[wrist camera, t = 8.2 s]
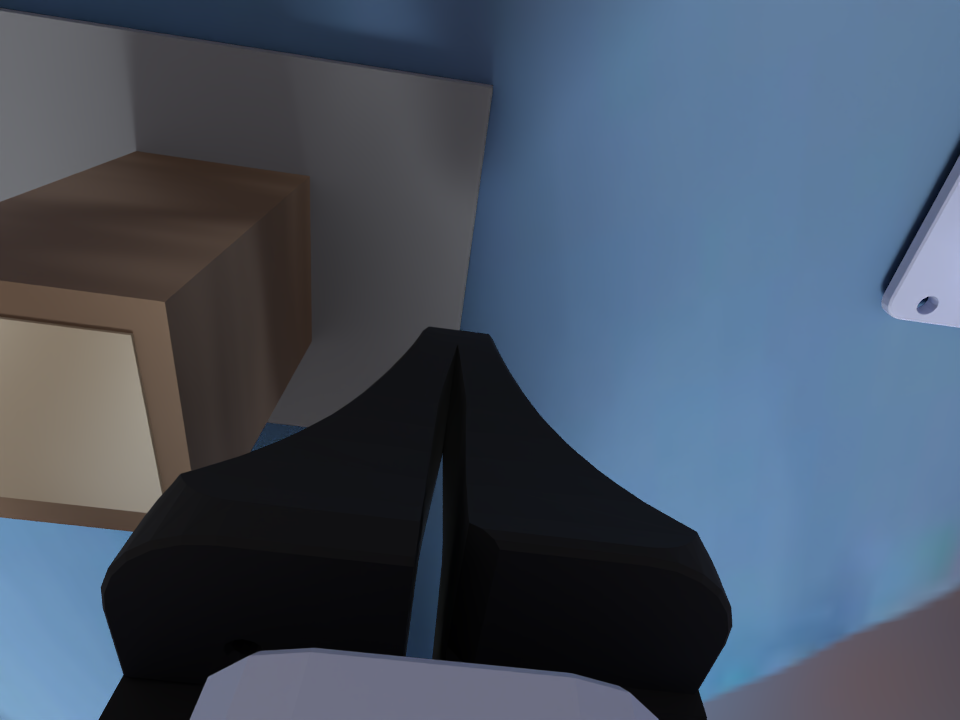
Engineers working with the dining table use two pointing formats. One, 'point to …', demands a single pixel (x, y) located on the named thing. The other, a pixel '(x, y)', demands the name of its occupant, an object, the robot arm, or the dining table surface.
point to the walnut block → (144, 329)
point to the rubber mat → (274, 167)
